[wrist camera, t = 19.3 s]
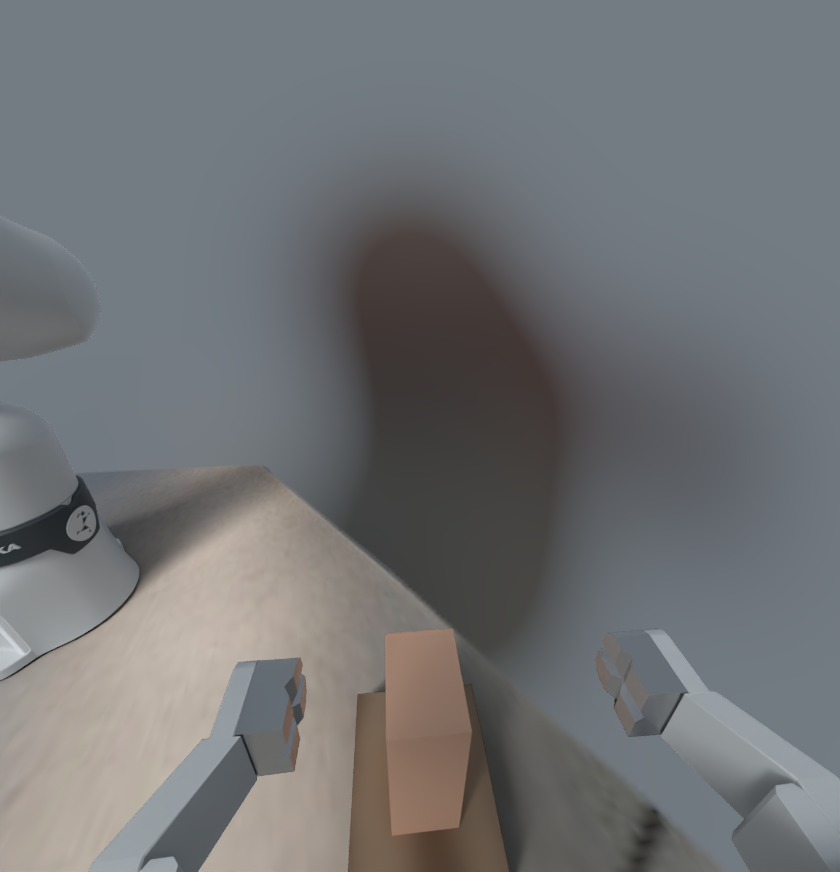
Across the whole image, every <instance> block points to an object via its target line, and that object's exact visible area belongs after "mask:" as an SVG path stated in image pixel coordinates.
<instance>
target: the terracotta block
mask: <svg viewBox="0 0 840 872" xmlns="http://www.w3.org/2000/svg"><path fill="white" fill-rule="evenodd" d="M385 678H386V749H387V765H388V782H389V798H390V814H391V831H392V836H394V835H402V834H410V833H419V832H427V831H435V830H443V829H452V828H459V825H460V817H461V810H462V802H463V795H464V788H465V780H466V773H467V765H468V758H469V751H470V743H471V736H472V729H471V724H470V718H469V713H468V708H467V702H466V697H465V691H464V686H463V680H462V675H461V670H460V664H459V659H458V653H457V648H456V642H455V637H454V632H453V628H452V629H439V630H426V631H413V632H400V633H387V634H385Z"/></svg>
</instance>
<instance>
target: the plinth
mask: <svg viewBox="0 0 840 872" xmlns="http://www.w3.org/2000/svg"><path fill="white" fill-rule="evenodd" d="M463 686H464V691H465V697H466V702H467V708H468V713H469V718H470V724H471V729H472V736H471V743H470V751H469V758H468V765H467V773H466V780H465V788H464V795H463V802H462V810H461V817H460V825H459V828H452V829H443V830H435V831H427V832H419V833H410V834H402V835H394V836H392V831H391V814H390V798H389V782H388V765H387V749H386V692H377V693H365V694H358V699H357V717H356V735H355V754H354V772H353V790H352V808H351V826H350V845H349V863H348V872H509V868H508V863H507V858H506V853H505V848H504V843H503V838H502V833H501V828H500V824H499V819H498V814H497V809H496V804H495V799H494V794H493V789H492V784H491V779H490V774H489V769H488V764H487V759H486V754H485V749H484V744H483V739H482V734H481V729H480V724H479V719H478V714H477V709H476V705H475V700H474V695H473V690H472V685H471V684H468V685H463Z"/></svg>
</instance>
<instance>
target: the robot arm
mask: <svg viewBox="0 0 840 872" xmlns="http://www.w3.org/2000/svg"><path fill="white" fill-rule="evenodd" d="M100 312H101V311H100V299H99V294H98V291H97V288H96V286H95V284H94V281H93V280H92V278H91V276H90V275H89V273H88V271H87V270H86V269H85V267H84V266H83V265H82V264H81V263H80V262H79V260H78V259H77V258H76V257H75V256H74V255H73V254H72V253H70V252H69V251H68V250H67V249H65V247H63V246H62V245H60V244H59V243H58V242H56V241H55V240H53V239H52V238H50V237H48V236H47V235H45V234H42V233H39V232H37V231H34V230H31V229H29V228H26V227H24V226H22V225H19V224H17V223H15V222H12V221H11V220H8V219H7V218H5V217H3V216H0V362H1V361H8V360H18V359H27V358H32V357H35V356H39V355H43V354H47V353H51V352H54V351H58V350H62V349H65V348H68V347H71V346H75V345H78V344H81V343H85V342H87V341H88V340H89V339H90V338H91V336H92V335H93V333H94V332H95V330H96V328H97V325H98V322H99V319H100ZM89 491H90V490H89V488H88V486H87V485H85V483H84V481H83V479H82V478H81V477H79V476H77V475H75V473H74V471H73V469H72V467H71V465H70V463H69V461H68V459H67V457H66V455H65V452H64V450H63V448H62V446H61V444H60V442H59V440H58V438H57V436H56V434H55V432H54V430H53V428H52V426H51V424H49V422H48V421H47V420H45V419H44V418H43V417H42V416H40V415H39V414H37V413H35V412H33V411H31V410H29V409H27V408H24V407H22V406H19V405H15V404H11V403H7V402H1V401H0V680H2V679H4V678H6V677H8V676H9V675H11V674H13V673H14V672H16V671H18V670H19V669H21V668H22V667H24V666H25V665H27V664H28V663H30V662H31V661H32V660H34V659H35V658H37V657H38V656H40V655H42V654H44V653H46V652H48V651H50V650H52V649H54V648H57V647H59V646H61V645H63V644H65V643H67V642H69V641H71V640H73V639H75V638H77V637H79V636H81V635H82V634H84V633H86V632H88V631H89V630H91V629H92V628H94V627H95V626H97V625H98V624H100V623H101V622H102V621H104V620H105V619H106V618H108V617H109V616H110V615H111V614H112V613H113V612H115V611H116V610H117V609H118V608H119V607H120V606H121V605H122V604H123V603H124V602H125V600H126V599H127V598H128V597H129V596H130V594H131V593H132V591H133V590H134V588H135V586H136V584H137V581H138V578H139V567H138V565H137V563H136V562H135V561H134V560H133V559H132V558H131V557H130V556H129V555H128V554H127V553H126V552H125V551H124V547H123V544H122V543H121V541H120V540H119V539H118V538H114V536H113V535H112V533H111V532H110V531H109V529H108V528H107V526H106V525H105V523H104V522H103V520H102V519H101V517H100V516H99V514H98V513H97V510H96V505H95V502H94V500H93V498H92V496H91V494H90V492H89ZM602 643H603V644H604V647H603V648H602V649H601V650H600V651H598V654H597V657H596V667H597V672H598V675H599V679H600V681H601V683H602V685H603V687H604V689H605V690H606V691H607V692H608V693H609V694H611V695H612V696H613V697H614V698H615V703H614V709H615V711H616V713H617V715H618V717H619V719H620V721H621V723H622V725H623V727H624V729H625V731H626V733H627V735H628V737H633V736H634V737H635V736H649V735H661V738H662V739H663V740H664V741H665V742H666V743H667V744H668V745H669V746H671V748H672V749H673V750H675V751H676V752H677V753H678V754H679V755H680V756H681V757H682V758H683V759H684V760H685V761H686V762H687V763H688V764H689V765H690V766H691V767H692V768H693V769H694V770H695V771H696V772H697V773H698V774H699V775H700V776H701V777H702V778H703V779H704V780H705V781H706V782H707V783H708V784H710V786H711V787H712V788H713V789H714V790H715V791H716V792H718V794H720V795H721V796H722V797H723V798H724V799H725V800H726V801H727V802H728V803H729V804H730V805H731V806H732V807H733V808H734V809H735V810H736V811H737V812H738V813H739V814H740V815H741V816H742V817H743V818H744V820H743V821H742V823H741V824H740V825H739V826H738V827H737V828H736V829H735V830H734V831H733V835H732V841H733V843H734V845H735V846H736V848H737V850H738V851H739V853H740V855H741V856H742V858H743V860H744V862H745V864H746V865H747V867H748V869H749V870H750V872H840V780H839V779H838V777H837V776H835V775H834V774H833V773H831V772H829V771H828V770H827V769H825V768H824V767H822V766H821V765H819V764H818V763H817V762H815V761H814V760H813V759H811V758H810V757H808V756H807V755H805V754H804V753H803V752H801V751H800V750H798V749H797V748H796V747H794V746H792V745H791V744H789V743H788V742H787V741H786V740H784V739H783V738H781V737H780V736H778V735H777V734H776V733H774V732H773V731H771V730H770V729H768V728H767V727H765V726H764V725H763V724H761V723H760V722H759V721H757V720H756V719H754V718H753V717H751V716H750V715H749V714H747V713H746V712H744V711H743V710H741V709H740V708H739V707H737V706H736V705H734V704H733V703H731V702H730V701H729V700H727V699H726V698H724V697H723V696H721V695H720V694H719V693H717V692H716V691H709V690H708V688H707V687H706V686H705V684H704V683H703V682H702V680H701V679H700V678H699V676H698V675H697V674H696V672H695V671H694V670H693V668H692V667H691V665H690V664H689V663H688V661H687V660H686V659H685V657H684V656H683V655H682V653H681V652H680V651H679V650H678V648H677V647H676V645H675V644H674V643H673V641H672V640H671V638H670V637H669V636H668V634H667V633H666V632H664V631H663V630H662V629H648V630H632V631H622V632H612V633H607V634H605V635H604V637H603V639H602ZM301 671H302V662H301V658H288V659H275V660H262V661H261V660H257V661H246V662H238V663H237V665H236V666H235V668H234V670H233V672H232V675H231V678H230V680H229V683H228V686H227V689H226V692H225V694H224V697H223V700H222V703H221V706H220V709H219V711H218V714H217V717H216V720H215V723H214V726H213V728H212V731H211V734H210V737H209V739H202V740H201V741H200V743H199V744H198V745H197V746H196V747H195V748H194V749H193V750H192V752H191V753H190V754H189V755H188V756H187V757H186V758H185V759H184V761H183V762H182V763H181V764H180V765H179V766H178V767H177V768H176V770H175V771H174V772H173V773H172V774H171V775H170V776H169V777H168V779H167V780H166V781H165V782H164V783H163V784H162V785H161V786H160V788H159V789H158V790H157V791H156V792H155V793H154V794H153V795H152V796H151V798H150V799H149V800H148V801H147V802H146V803H145V804H144V805H143V807H142V808H141V809H140V810H139V811H138V812H137V813H136V814H135V816H134V817H133V818H132V819H131V820H130V821H129V822H128V823H127V825H126V826H125V827H124V828H123V829H122V830H121V831H120V832H119V834H118V835H117V836H116V837H115V838H114V839H113V840H112V841H111V843H110V844H109V845H108V846H107V847H106V848H105V849H104V850H103V852H102V853H101V854H100V855H99V856H98V857H97V858H96V859H95V860H94V862H93V863H92V864H91V867H90V869H89V871H88V872H198V871H199V869H200V868H201V866H202V865H203V863H204V862H205V860H206V858H207V857H208V855H209V854H210V852H211V851H212V849H213V848H214V846H215V844H216V843H217V841H218V840H219V838H220V837H221V835H222V833H223V832H224V830H225V829H226V827H227V826H228V824H229V823H230V821H231V819H232V818H233V816H234V815H235V813H236V812H237V810H238V809H239V807H240V805H241V804H242V802H243V801H244V799H245V798H246V796H247V795H248V793H249V791H250V790H251V788H252V787H253V785H254V784H255V782H256V781H257V776H264V775H272V774H279V773H287V772H294V770H295V764H296V758H297V753H298V747H299V741H300V736H299V732H298V728H297V725H298V724H299V723H300V721H301V720H302V719H303V717H304V711H305V704H306V680H305V676H304V675H302V674H301Z"/></svg>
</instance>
